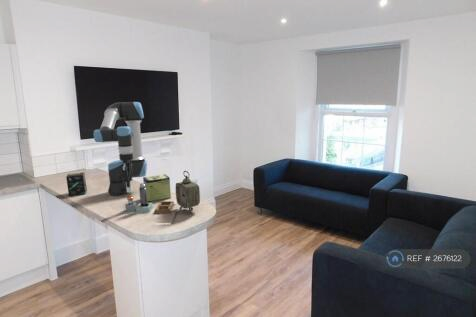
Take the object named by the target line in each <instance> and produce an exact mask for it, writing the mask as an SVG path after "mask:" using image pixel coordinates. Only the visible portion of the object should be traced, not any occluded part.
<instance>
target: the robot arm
mask: <svg viewBox="0 0 476 317" xmlns="http://www.w3.org/2000/svg"><path fill="white" fill-rule="evenodd" d="M103 113H104V114H103V116H104V117H103V121H102V123H101V126H100V128H98V129H95V130H94V131H93V140H94V141H95V142H96V143H110V142H113V143H114V142H117V144H118V145H117V146H118V147H117V149H118V153H119V154H118V156H119V159H117V160H114V161H111V162H109V163H108V165H107V168H108V169H107V171H108V177H109V186H108V189H107V193H108V196H109V195H110V196H123V195H126V194H129V193H132V192H133V184H132V181H133V180H134V179H133V178H143V177H147V172H148V171H147V169H148V161H147V160H145V159H146V158H145V157H144V156H143V148H142V138H141V137H142V136H141V135H142V134H141V133H142V132H141V123H142V121H143V120H142V119H144V118H145V116H144V110H143V106H142V104H141V102H140V101H139V102H138V101H123V102H119V101H118V102H114V103H113V104H110V105H109V106H108V107H107V108H106V109H105V111H104V112H103ZM123 119H124V122H125V123H126V125H127V126H125V125H124V126H118V127H117V128H115V125H116V122H117V121H118V120H123Z"/></svg>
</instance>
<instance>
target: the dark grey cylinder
mask: <svg viewBox="0 0 476 317" xmlns="http://www.w3.org/2000/svg"><path fill="white" fill-rule="evenodd" d="M138 190H139V200H140V201H139V203H141V207H148V203H149V202H148V201H147V191H146V187H145V184H144V183H140V184H139V188H138Z"/></svg>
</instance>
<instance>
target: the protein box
mask: <svg viewBox="0 0 476 317" xmlns="http://www.w3.org/2000/svg"><path fill="white" fill-rule="evenodd" d="M170 178H171V177H170V176H168V175H167V174H165V173H164V174H158V175H151V176H144V177H142V179H143V180H142V181H143V184H145V187H146V191H147V203H153V202H155V201H156V202H157V201H163V200H168V199H169V200H170V199H172V197H171V196H172V195H171V182H170V181H171V180H170Z"/></svg>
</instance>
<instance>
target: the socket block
mask: <svg viewBox="0 0 476 317" xmlns="http://www.w3.org/2000/svg"><path fill="white" fill-rule="evenodd" d="M147 203H148V207H141V202H139V203H138V204H137V202H135V201H133V205H128V202H127V203H126V204H125V212H124V215H136V214H137V215H139V214H142V215H143V214H147V215H148V214H151V213H152V210H153V209H154V208H155V205H153V202H147Z"/></svg>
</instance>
